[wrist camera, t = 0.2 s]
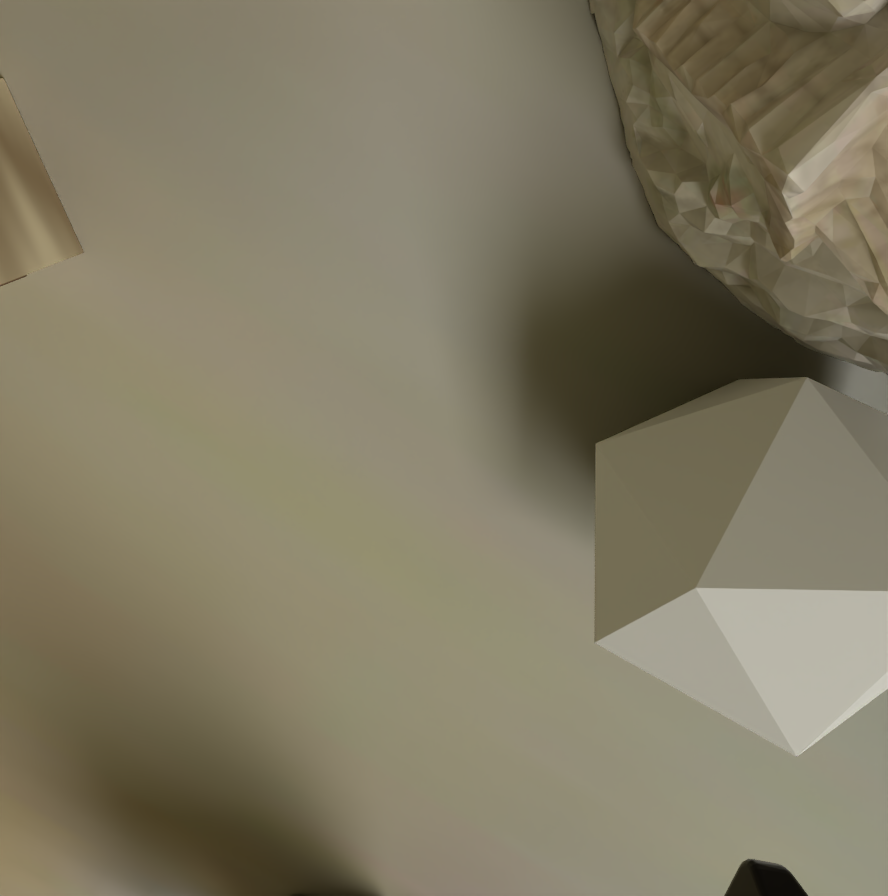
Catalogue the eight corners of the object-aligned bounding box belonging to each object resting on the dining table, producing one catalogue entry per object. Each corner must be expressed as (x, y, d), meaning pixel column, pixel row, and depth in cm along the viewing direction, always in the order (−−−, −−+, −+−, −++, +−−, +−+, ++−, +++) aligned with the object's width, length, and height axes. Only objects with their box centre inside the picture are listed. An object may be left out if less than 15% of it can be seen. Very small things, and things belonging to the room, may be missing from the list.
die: (524, 401, 22) (525, 751, 18) (770, 227, 16) (866, 715, 11) (719, 471, 26) (760, 778, 22) (988, 353, 19) (1124, 763, 15)
